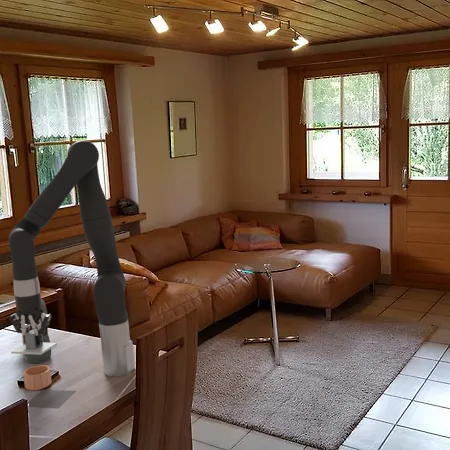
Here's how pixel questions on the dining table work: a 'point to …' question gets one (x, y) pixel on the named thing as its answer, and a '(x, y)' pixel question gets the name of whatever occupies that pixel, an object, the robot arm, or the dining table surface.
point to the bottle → (46, 355)
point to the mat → (50, 398)
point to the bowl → (37, 377)
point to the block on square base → (33, 345)
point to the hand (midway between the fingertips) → (33, 345)
